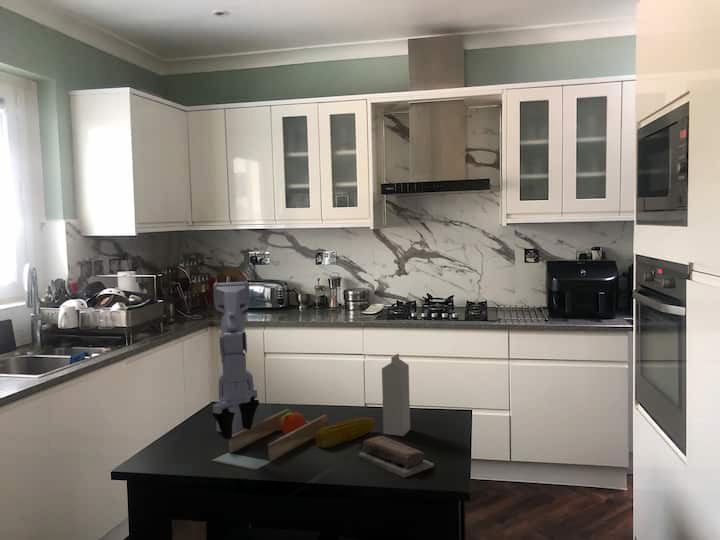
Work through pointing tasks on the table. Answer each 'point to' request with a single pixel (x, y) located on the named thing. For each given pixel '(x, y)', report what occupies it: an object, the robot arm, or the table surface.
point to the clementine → (291, 422)
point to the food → (344, 431)
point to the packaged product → (394, 456)
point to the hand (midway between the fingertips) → (237, 433)
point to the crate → (281, 444)
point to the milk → (396, 397)
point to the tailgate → (240, 461)
